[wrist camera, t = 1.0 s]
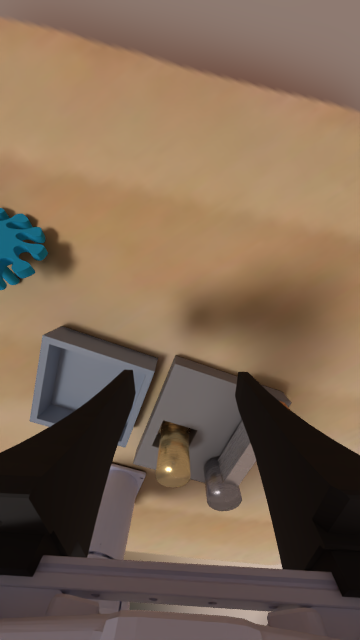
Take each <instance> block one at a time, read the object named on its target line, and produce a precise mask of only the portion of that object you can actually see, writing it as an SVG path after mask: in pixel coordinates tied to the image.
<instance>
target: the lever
mask: <svg viewBox="0 0 360 640" xmlns="http://www.w3.org/2000/svg"><path fill="white" fill-rule="evenodd" d="M280 402H281V401H280ZM281 403H282V404H283V405H284V406H286V407H287V405H286V404H285V403H284V402H281ZM287 408H288V407H287ZM288 409H289V408H288ZM289 410H290V409H289ZM255 462H256V458H255V455H254V452H253V448H252V446H251V443H250V440H249V438H248V435H247V432H246V430H245V427H244V424H243V421H242V422H241V423H240V425H239V427H238V428H237V430H236V432H235V433H234V435H233V436H232V438H231V440H230V441H229V443H228V445H227V446H226V448H225V449H224V451H223V453H222V454H221V456H220V457H219V458H215V459H212V460H210V461H208V462H207V463H206V464H205V466H204V478H205V487H206V495H207V503H208V505H209V506H210V507H211V508H213V509H215V510H218V511H229V510H232V509H235V508H236V507H238V506H239V505H240V503H241V501H242V497H241V493H240V489H239V484H240V483H241V481H242V480H243V479H244V477H245V476H246V474H247V473H248V472H249V470H250V469H251V467H252V466H253V465H254V463H255Z"/></svg>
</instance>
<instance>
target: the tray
mask: <svg viewBox="0 0 360 640" xmlns="http://www.w3.org/2000/svg"><path fill="white" fill-rule="evenodd" d="M157 360H158V358H156V357H153V356H150V355H147V354H144V353H141V352H138V351H135V350H132V349H129V348H126V347H123V346H120V345H117V344H114V343H111V342H108V341H105V340H102V339H99V338H96V337H93V336H90V335H87V334H84V333H81V332H78V331H75V330H72V329H69V328H66V327H63V326H61V327H59V328H57V329H55V330H53V331H51V332H48V333H46V334H44V335H43V337H42V344H41V350H40V357H39V363H38V370H37V376H36V383H35V390H34V396H33V403H32V409H31V416H30V422H34V423H37V424H41V425H45V426H48V427H50V426H52V425H54V424H55V423H57V422H58V421H60V420H62V419H63V418H65V417H66V416H68V415H69V414H71V413H72V412H74V411H75V410H77V409H78V408H79V407H81V406H82V405H84V404H85V403H86V402H87V401H89V400H90V399H91V398H92V397H94V396H95V395H96V394H97V393H99V392H100V391H101V390H102V389H103V388H104V387H105V386H107V385H108V384H109V383H110V382H111V381H112V380H113V379H114V378H115V377H117V376H118V375H119V374H120V373H121V372H122V371H123V370H133V375H134V383H135V390H136V394H135V398H134V402H133V406H132V409H131V412H130V414H129V417H128V419H127V422H126V424H125V427H124V429H123V432H122V435H121V437H120V440H119V442H118V446H121V447H126V445H127V442H128V439H129V437H130V434H131V432H132V429H133V426H134V424H135V421H136V419H137V416H138V414H139V411H140V408H141V406H142V403H143V401H144V398H145V395H146V393H147V390H148V388H149V385H150V382H151V380H152V377H153V375H154V372H155V368H156V364H157Z"/></svg>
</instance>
